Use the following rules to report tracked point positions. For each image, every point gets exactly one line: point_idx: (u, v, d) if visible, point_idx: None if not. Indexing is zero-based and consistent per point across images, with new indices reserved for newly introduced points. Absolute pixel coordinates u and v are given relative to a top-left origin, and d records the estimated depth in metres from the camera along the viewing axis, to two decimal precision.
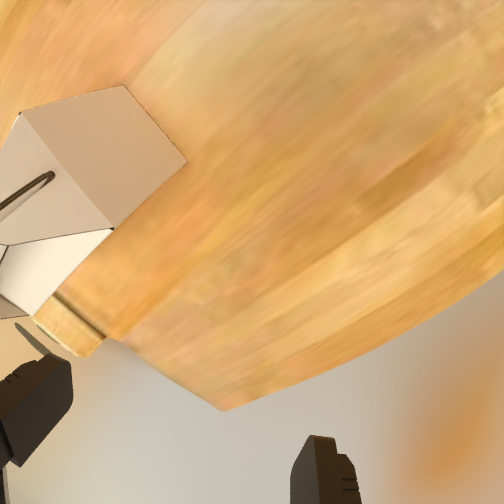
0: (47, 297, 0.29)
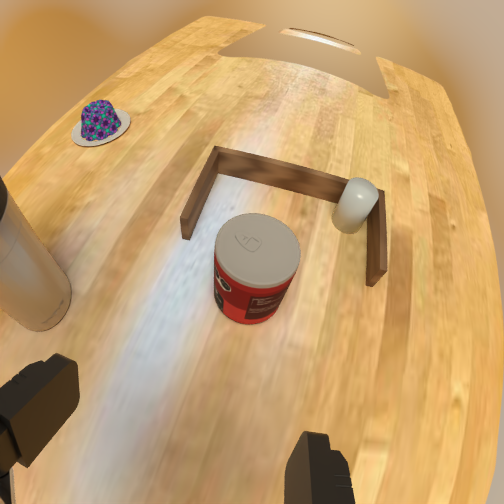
0: None
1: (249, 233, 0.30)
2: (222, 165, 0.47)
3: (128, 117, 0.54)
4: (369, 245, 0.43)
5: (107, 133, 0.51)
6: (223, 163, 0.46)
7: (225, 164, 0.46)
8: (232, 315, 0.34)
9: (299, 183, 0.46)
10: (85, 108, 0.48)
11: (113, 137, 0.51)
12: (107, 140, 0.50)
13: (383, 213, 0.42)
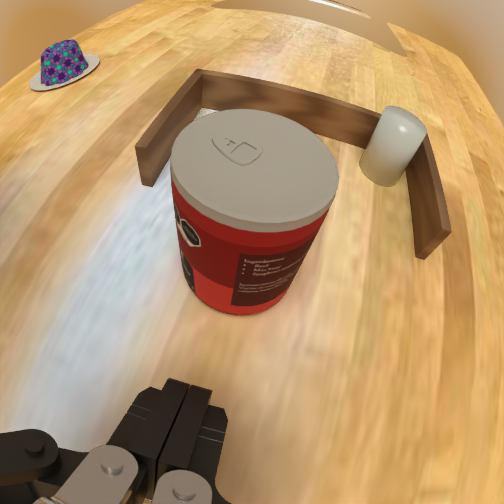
0: None
1: (238, 137, 0.15)
2: (207, 95, 0.32)
3: (97, 59, 0.38)
4: (414, 202, 0.28)
5: (69, 75, 0.35)
6: (208, 92, 0.31)
7: (211, 92, 0.31)
8: (211, 298, 0.20)
9: (313, 117, 0.31)
10: (47, 49, 0.32)
11: (76, 79, 0.35)
12: (68, 82, 0.35)
13: (432, 157, 0.27)
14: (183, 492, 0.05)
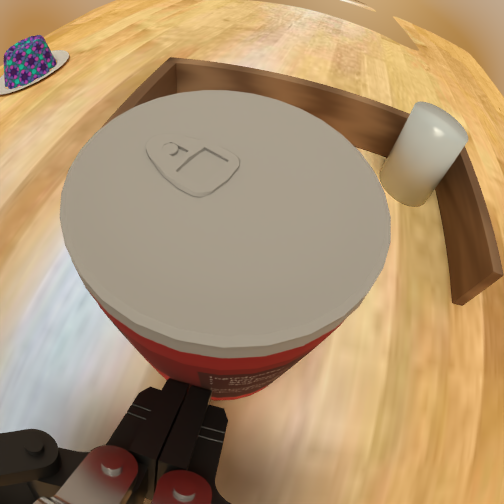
0: None
1: (196, 139, 0.08)
2: (183, 90, 0.24)
3: (67, 55, 0.31)
4: (449, 227, 0.21)
5: (34, 75, 0.28)
6: (184, 86, 0.24)
7: (188, 86, 0.24)
8: None
9: (320, 116, 0.24)
10: (10, 47, 0.25)
11: (40, 79, 0.28)
12: (31, 83, 0.28)
13: (471, 169, 0.20)
14: (183, 492, 0.05)
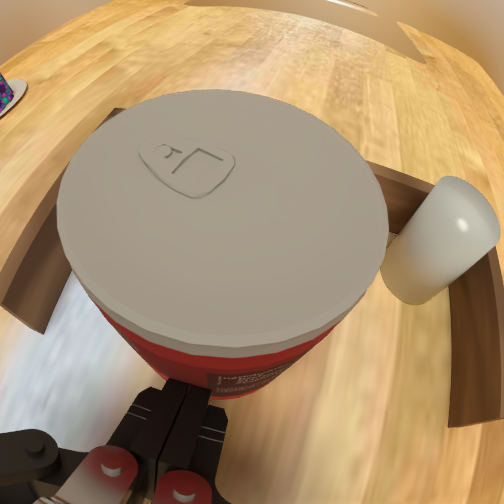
0: None
1: (189, 140, 0.08)
2: None
3: (24, 87, 0.27)
4: (459, 332, 0.17)
5: None
6: None
7: None
8: None
9: None
10: None
11: None
12: None
13: (495, 262, 0.15)
14: (183, 492, 0.05)
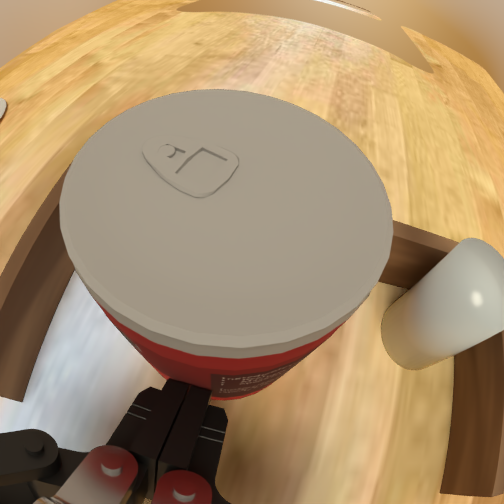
0: None
1: (192, 139, 0.08)
2: None
3: (4, 107, 0.25)
4: (461, 398, 0.14)
5: None
6: None
7: None
8: None
9: None
10: None
11: None
12: None
13: None
14: (183, 492, 0.05)
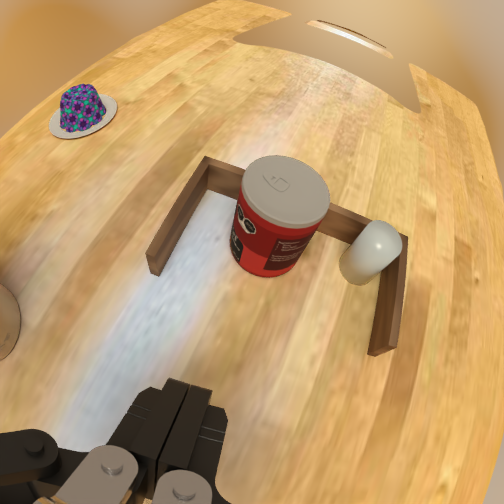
0: None
1: (277, 174, 0.28)
2: (212, 181, 0.38)
3: (114, 103, 0.45)
4: (379, 304, 0.35)
5: (90, 122, 0.42)
6: (213, 178, 0.37)
7: (216, 180, 0.37)
8: (251, 265, 0.33)
9: None
10: (65, 94, 0.38)
11: (97, 127, 0.42)
12: (91, 131, 0.41)
13: (403, 268, 0.33)
14: (183, 492, 0.05)
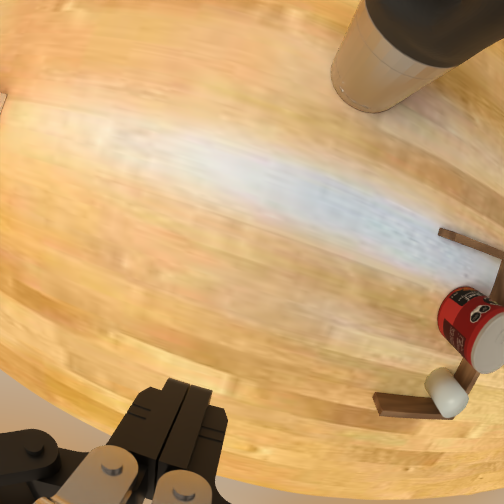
0: None
1: None
2: None
3: None
4: (409, 399, 0.40)
5: None
6: None
7: None
8: (447, 308, 0.36)
9: None
10: None
11: None
12: None
13: (432, 417, 0.37)
14: (183, 492, 0.05)
